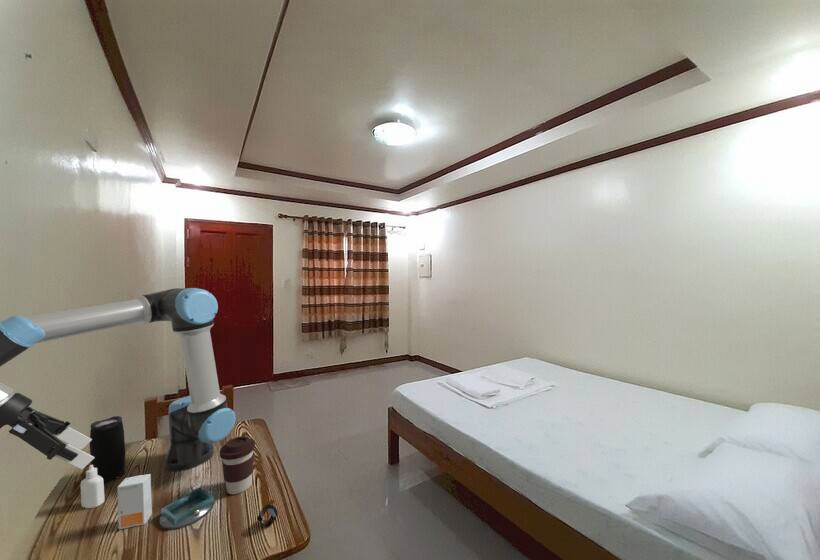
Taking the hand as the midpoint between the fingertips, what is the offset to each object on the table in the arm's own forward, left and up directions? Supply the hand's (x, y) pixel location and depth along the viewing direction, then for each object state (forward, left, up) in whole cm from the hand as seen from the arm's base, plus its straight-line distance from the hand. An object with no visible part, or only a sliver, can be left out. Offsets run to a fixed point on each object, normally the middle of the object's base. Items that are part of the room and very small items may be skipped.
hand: (87, 453), depth 79 cm
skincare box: (-4, +8, -24) cm, 26 cm away
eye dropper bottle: (-21, -4, -24) cm, 33 cm away
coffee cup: (-3, +33, -24) cm, 41 cm away
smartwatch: (+19, +38, -24) cm, 49 cm away
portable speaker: (-36, -3, -24) cm, 44 cm away
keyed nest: (0, +20, -24) cm, 31 cm away
